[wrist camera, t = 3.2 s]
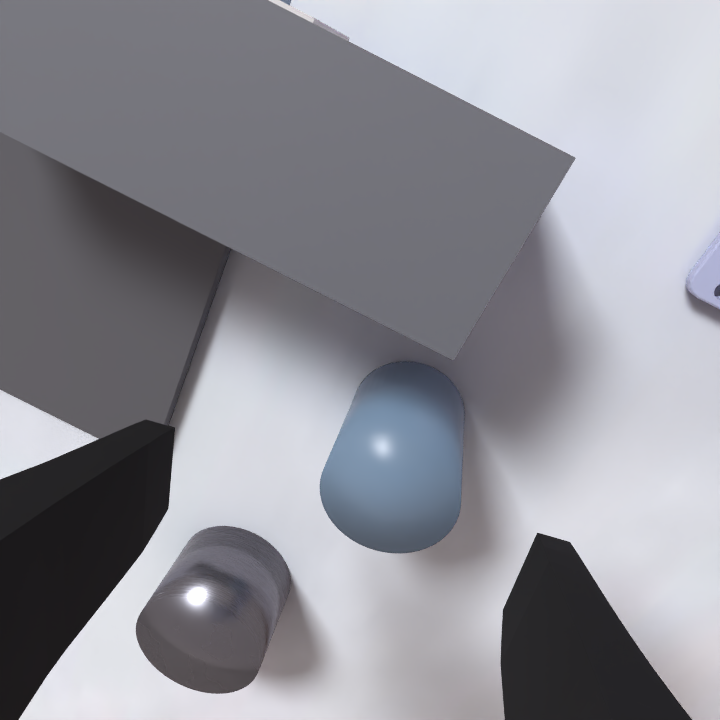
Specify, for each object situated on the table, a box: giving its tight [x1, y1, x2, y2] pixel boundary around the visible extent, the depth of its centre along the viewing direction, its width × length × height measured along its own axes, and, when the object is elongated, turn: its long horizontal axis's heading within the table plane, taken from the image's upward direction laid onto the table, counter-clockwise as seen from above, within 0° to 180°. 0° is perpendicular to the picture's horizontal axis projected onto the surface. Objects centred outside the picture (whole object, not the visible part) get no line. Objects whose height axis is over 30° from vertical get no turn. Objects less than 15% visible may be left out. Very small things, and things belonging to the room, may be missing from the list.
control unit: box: [0, 0, 575, 361], centre depth 14 cm, size 17×5×7 cm, turn 65°
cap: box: [136, 526, 291, 694], centre depth 24 cm, size 5×5×4 cm
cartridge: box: [320, 362, 464, 553], centre depth 18 cm, size 4×4×5 cm
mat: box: [0, 132, 231, 439], centre depth 21 cm, size 10×10×1 cm
